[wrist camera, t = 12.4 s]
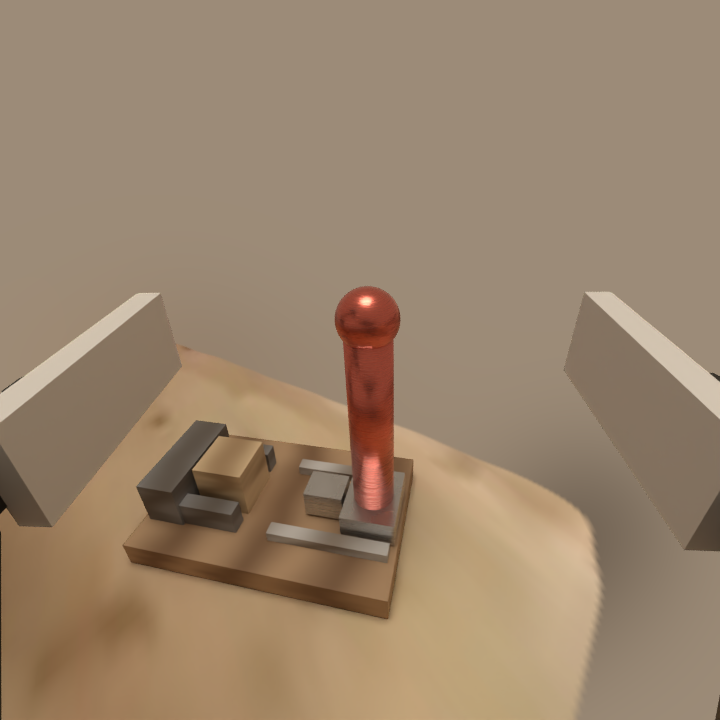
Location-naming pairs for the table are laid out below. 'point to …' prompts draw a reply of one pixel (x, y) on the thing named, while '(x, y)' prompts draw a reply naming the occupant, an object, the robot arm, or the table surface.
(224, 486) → the block
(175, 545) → the press bed
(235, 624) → the table surface
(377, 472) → the press lever
